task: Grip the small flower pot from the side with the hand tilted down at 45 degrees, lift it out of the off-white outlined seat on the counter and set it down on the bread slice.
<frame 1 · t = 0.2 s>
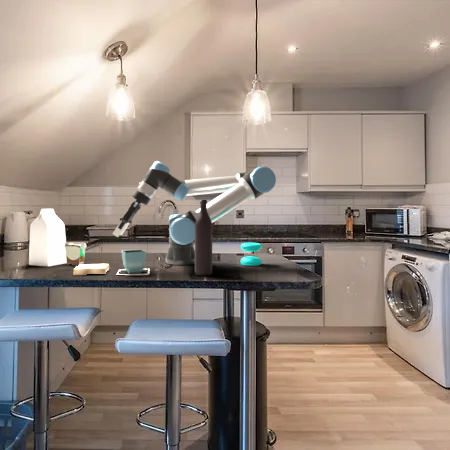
hand: (117, 234, 166), 15 cm above the breakfast bar, tool tilted 35°, fingers open, 13 cm apart
bread slice: (92, 272, 158), on the breakfast bar
milk: (48, 264, 180), on the breakfast bar
wine bottle: (203, 274, 155), on the breakfast bar
food container: (78, 264, 180), on the breakfast bar
seat outline: (133, 272, 158), on the breakfast bar
pair of cyan ovals: (251, 265, 179), on the breakfast bar
flower pot: (133, 273, 158), on the breakfast bar
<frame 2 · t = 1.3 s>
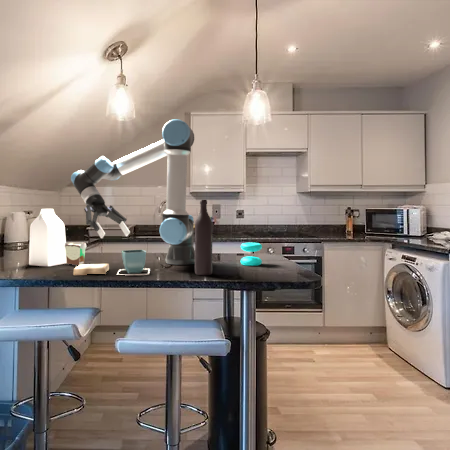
hand: (116, 235, 163), 15 cm above the breakfast bar, tool tilted 45°, fingers open, 13 cm apart
nothing on the breakfast bar moved.
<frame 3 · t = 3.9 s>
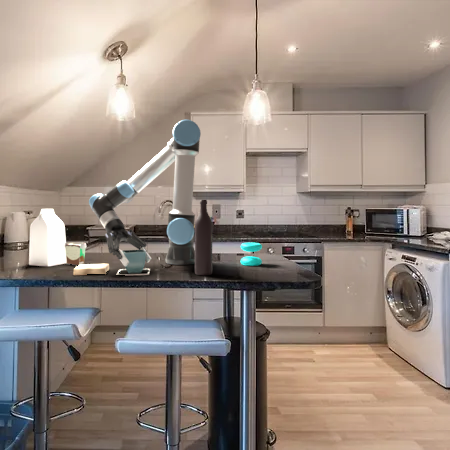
hand: (138, 262, 156), 4 cm above the breakfast bar, tool tilted 45°, fingers closed on flower pot, 12 cm apart
flower pot: (134, 273, 158), on the breakfast bar, touching gripper
everything else where it was.
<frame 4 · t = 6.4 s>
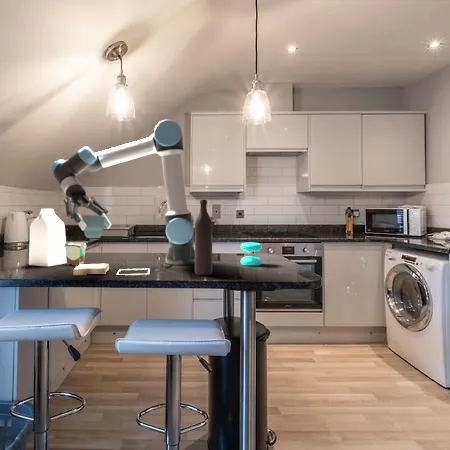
hand: (97, 227, 155), 19 cm above the breakfast bar, tool tilted 45°, fingers closed on flower pot, 12 cm apart
flower pot: (93, 238, 157), point 14 cm above the breakfast bar, touching gripper
everything else where it was.
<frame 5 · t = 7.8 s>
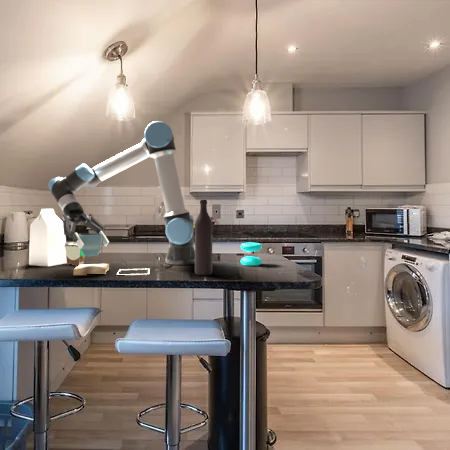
hand: (94, 245, 156), 11 cm above the breakfast bar, tool tilted 45°, fingers closed on flower pot, 12 cm apart
flower pot: (90, 256, 157), point 7 cm above the breakfast bar, touching gripper
everything else where it was.
when the fingers open (8 cm above the breakfast bar, at t = 9.0 s): flower pot drops 1 cm, resting on bread slice.
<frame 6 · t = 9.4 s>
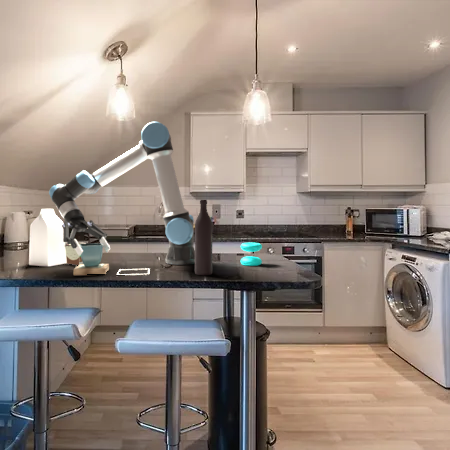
hand: (95, 251, 156), 9 cm above the breakfast bar, tool tilted 45°, fingers open, 13 cm apart
flower pot: (91, 266, 157), point 2 cm above the breakfast bar, touching bread slice
everything else where it was.
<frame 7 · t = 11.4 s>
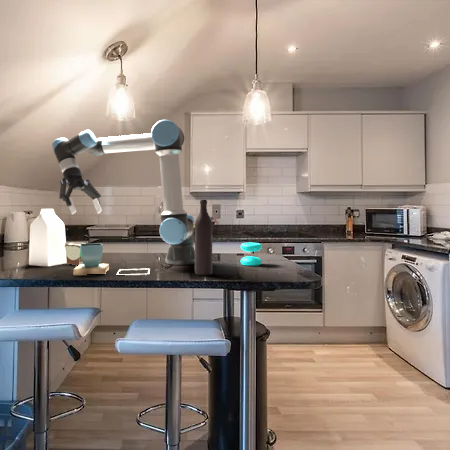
hand: (87, 212, 167), 25 cm above the breakfast bar, tool tilted 30°, fingers open, 13 cm apart
nothing on the breakfast bar moved.
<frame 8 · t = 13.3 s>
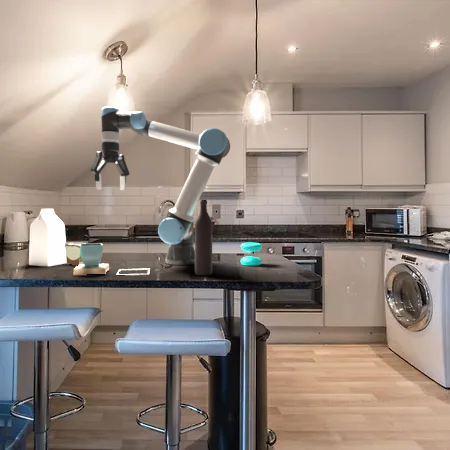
hand: (111, 189, 174), 35 cm above the breakfast bar, tool pointing down, fingers open, 13 cm apart
nothing on the breakfast bar moved.
at the end: flower pot inside the target area on the bread slice (0.3 cm from its centre), point 2.4 cm above the bread slice's base; flower pot tilted 0°; the gripper is holding nothing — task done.
